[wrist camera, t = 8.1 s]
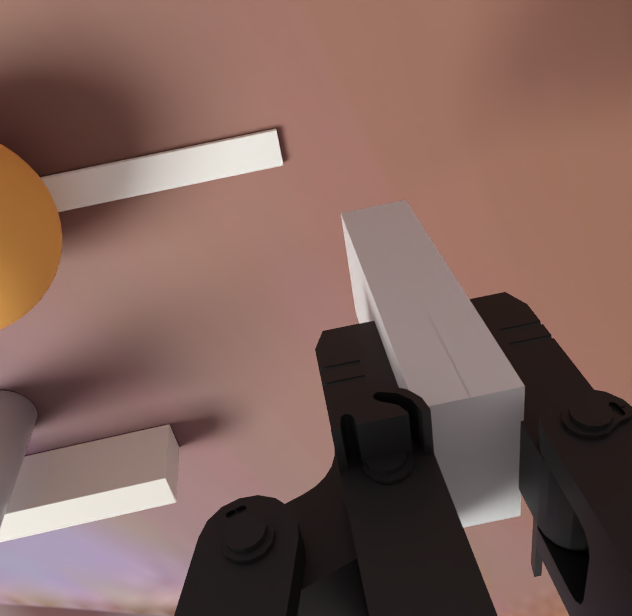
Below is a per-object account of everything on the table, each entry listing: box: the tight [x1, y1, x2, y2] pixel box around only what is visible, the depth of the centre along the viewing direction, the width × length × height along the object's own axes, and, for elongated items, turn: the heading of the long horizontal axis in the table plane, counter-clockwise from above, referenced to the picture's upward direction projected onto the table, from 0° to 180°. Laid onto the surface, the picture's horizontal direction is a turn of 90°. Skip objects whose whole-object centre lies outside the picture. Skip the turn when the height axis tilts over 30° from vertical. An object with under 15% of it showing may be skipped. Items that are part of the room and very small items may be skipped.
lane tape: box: [40, 129, 283, 212], centre depth 20 cm, size 10×1×1 cm, turn 99°
